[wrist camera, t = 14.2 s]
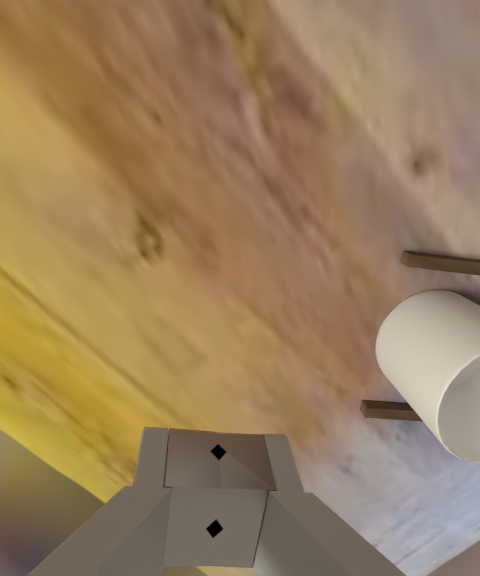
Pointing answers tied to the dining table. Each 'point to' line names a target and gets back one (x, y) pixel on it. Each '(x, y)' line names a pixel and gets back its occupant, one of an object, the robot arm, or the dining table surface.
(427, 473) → the dining table surface
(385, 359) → the cup
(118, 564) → the robot arm
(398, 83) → the dining table surface
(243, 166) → the dining table surface
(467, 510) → the dining table surface
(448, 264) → the corral
